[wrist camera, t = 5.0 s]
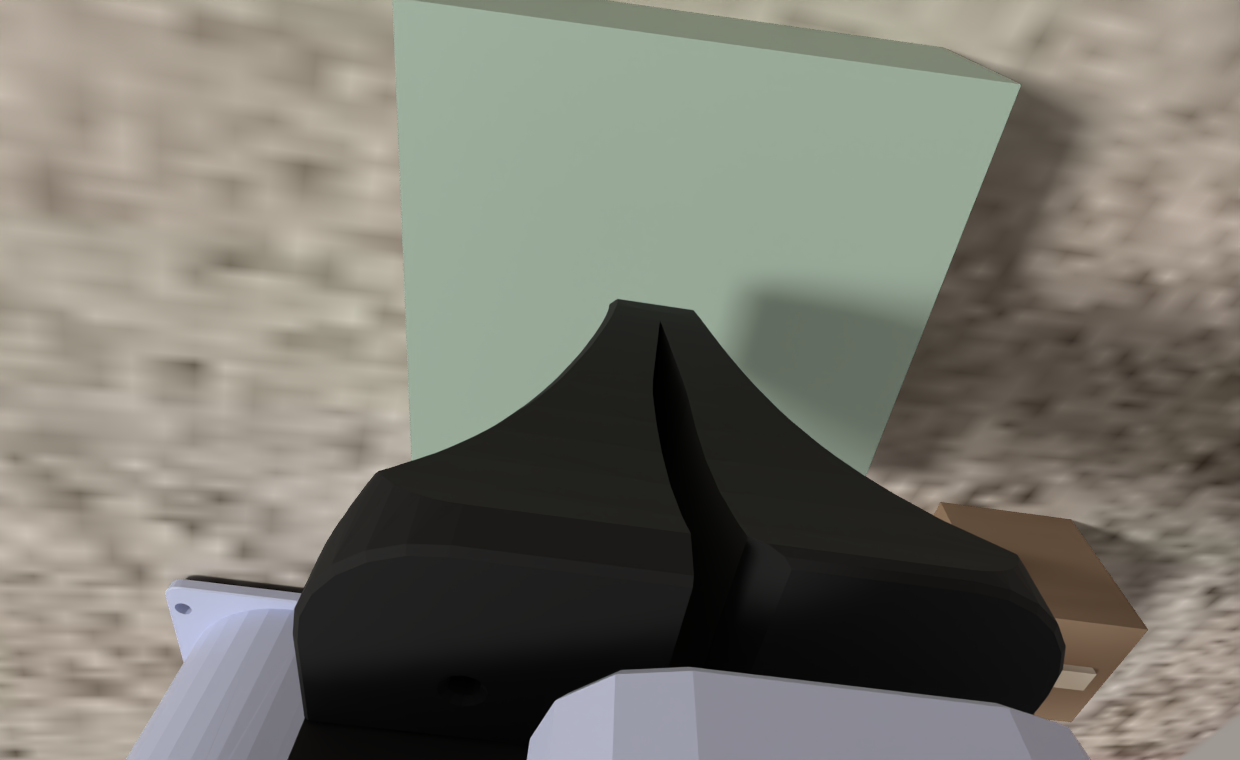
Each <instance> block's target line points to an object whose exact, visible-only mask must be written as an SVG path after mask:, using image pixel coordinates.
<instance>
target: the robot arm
mask: <svg viewBox="0 0 1240 760" xmlns="http://www.w3.org/2000/svg"><path fill="white" fill-rule="evenodd" d="M165 596H166V599H167V603H168V607H169V610H170V614H171V618H172V621H173V625H174V629H175V632H176V636H177V640H178V643H179V647H180V651H181V654H182V658H183V661H184V663H183V665H182V667H181V668H180V670H179V672H178V673H177V675H176V677H175V678H174V680H173V682H172V683H171V685H170V687H169V688H168V690H167V692H166V693H165V695H164V697H163V698H162V700H161V702H160V703H159V705H158V707H157V708H156V710H155V712H154V713H153V715H152V717H151V718H150V720H149V722H148V723H147V725H146V727H145V728H144V730H143V731H142V733H141V735H140V736H139V738H138V740H137V741H136V743H135V745H134V746H133V748H132V750H131V751H130V753H129V755H128V756H127V758H126V760H1091V759H1090V757H1089V756H1088V755H1087V753H1086V752H1085V750H1084V749H1083V747H1082V746H1081V744H1080V743H1079V741H1078V740H1077V739H1076V737H1075V736H1074V734H1073V733H1072V731H1071V730H1070V728H1069V727H1067V726H1064V725H1061V724H1059V723H1056V722H1053V721H1050V720H1047V719H1044V718H1041V717H1038V716H1035V715H1034V713H1035V712H1036V711H1037V710H1038V708H1039V707H1040V706H1041V704H1042V703H1043V702H1044V701H1045V699H1046V698H1047V697H1048V695H1049V693H1050V692H1051V690H1052V688H1053V686H1054V685H1055V683H1056V681H1057V679H1058V678H1059V676H1060V674H1061V672H1062V670H1063V665H1064V657H1065V650H1066V645H1065V642H1064V639H1063V637H1062V634H1061V631H1060V628H1059V625H1058V623H1057V621H1056V619H1055V618H1054V616H1053V614H1052V613H1051V611H1050V609H1049V607H1048V606H1047V604H1046V602H1045V600H1044V599H1043V597H1042V595H1041V593H1040V592H1039V590H1038V588H1037V587H1036V585H1035V583H1034V581H1033V580H1032V578H1031V576H1030V574H1029V573H1028V571H1027V569H1026V568H1025V566H1024V564H1023V563H1022V561H1021V560H1020V558H1019V556H1018V555H1017V554H1015V553H1013V552H1011V551H1009V550H1007V549H1004V548H1002V547H1000V546H998V545H996V544H993V543H991V542H989V541H987V540H985V539H983V538H980V537H978V536H976V535H974V534H972V533H969V532H967V531H965V530H963V529H961V528H958V527H956V526H954V525H952V524H950V523H948V522H945V521H943V520H941V519H939V518H937V517H935V516H933V515H932V514H930V513H928V512H926V511H924V510H922V509H921V508H919V507H917V506H915V505H913V504H912V503H910V502H908V501H906V500H904V499H902V498H901V497H899V496H897V495H895V494H893V493H892V492H890V491H888V490H887V489H885V488H884V487H882V486H880V485H879V484H877V483H875V482H874V481H872V480H870V479H869V478H867V477H866V476H864V475H863V474H861V473H860V472H858V471H857V470H855V469H854V468H852V467H851V466H850V465H848V464H847V463H845V462H844V461H842V460H841V459H839V458H838V457H836V456H835V455H833V454H832V453H831V452H829V451H828V450H827V449H825V448H824V447H823V446H821V445H820V444H819V443H817V442H816V441H815V440H814V439H813V438H811V437H810V436H809V435H808V434H807V433H805V432H804V431H803V430H802V429H801V428H799V427H798V426H797V425H796V424H795V423H793V422H792V421H791V420H790V419H789V418H788V417H787V416H785V415H784V414H783V413H782V412H781V411H780V410H779V409H778V408H777V407H776V406H775V405H774V404H773V403H772V402H771V401H770V400H769V399H768V398H767V397H766V396H765V395H764V394H763V393H762V392H761V391H760V390H759V389H758V388H757V387H756V386H755V385H754V384H753V383H752V381H751V380H750V379H749V378H748V377H747V376H746V375H745V374H744V373H743V371H742V370H741V369H740V368H739V367H738V366H737V364H736V363H735V362H734V361H733V360H732V358H731V357H730V356H729V355H728V354H727V352H726V351H725V350H724V349H723V347H722V346H721V345H720V344H719V342H718V341H717V340H716V338H715V337H714V336H713V335H712V333H711V332H710V331H709V329H708V328H707V327H706V325H705V324H704V323H703V321H702V320H701V319H700V317H699V316H698V315H697V314H696V312H695V311H694V310H690V309H683V308H676V307H669V306H663V305H656V304H649V303H642V302H636V301H629V300H622V299H617V300H615V301H613V302H612V303H610V304H609V309H608V312H607V314H606V316H605V318H604V320H603V322H602V324H601V325H600V327H599V328H598V330H597V331H596V333H595V334H594V336H593V337H592V338H591V340H590V341H589V342H588V344H587V345H586V346H585V347H584V349H583V350H582V351H581V353H580V354H579V355H578V356H577V357H576V358H575V359H574V360H573V361H572V363H571V364H570V365H569V366H568V367H567V368H566V369H565V370H564V371H563V372H562V373H561V374H560V375H559V376H558V377H557V378H556V379H555V380H554V381H553V382H552V383H551V384H550V385H549V386H548V387H547V388H545V389H544V390H543V391H542V392H541V393H540V394H538V395H537V396H536V397H535V398H533V399H532V400H531V401H530V402H528V403H527V404H526V405H524V406H523V407H521V408H520V409H519V410H517V411H516V412H514V413H513V414H511V415H510V416H508V417H507V418H505V419H504V420H502V421H501V422H499V423H498V424H496V425H494V426H493V427H491V428H489V429H487V430H485V431H483V432H481V433H479V434H478V435H476V436H474V437H472V438H469V439H467V440H465V441H463V442H460V443H458V444H456V445H454V446H451V447H449V448H447V449H444V450H442V451H439V452H437V453H434V454H431V455H428V456H425V457H422V458H419V459H416V460H413V461H410V462H407V463H404V464H401V465H398V466H395V467H392V468H388V469H385V470H381V471H378V472H377V473H376V474H375V475H374V476H373V477H372V478H371V480H370V481H369V482H368V483H367V485H366V486H365V487H364V489H363V490H362V491H361V493H360V494H359V495H358V497H357V498H356V499H355V501H354V502H353V503H352V505H351V506H350V508H349V509H348V511H347V512H346V513H345V515H344V516H343V518H342V519H341V520H340V522H339V523H338V525H337V526H336V528H335V529H334V531H333V532H332V534H331V536H330V537H329V539H328V541H327V542H326V544H325V546H324V548H323V550H322V552H321V554H320V556H319V558H318V560H317V562H316V564H315V566H314V568H313V570H312V572H311V574H310V577H309V579H308V581H307V583H306V585H305V587H304V589H303V591H302V593H295V592H287V591H278V590H270V589H262V588H253V587H245V586H236V585H228V584H220V583H211V582H203V581H194V580H186V579H179V580H175V581H173V582H172V583H171V584H170V586H169V587H168V589H167V590H166V593H165Z"/></svg>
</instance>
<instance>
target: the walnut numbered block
mask: <svg viewBox="0 0 1240 760" xmlns="http://www.w3.org/2000/svg"><path fill="white" fill-rule="evenodd" d="M934 516H935V517H937V518H939V519H941V520H943V521H945V522H948V523H950V524H952V525H954V526H956V527H958V528H961V529H963V530H965V531H967V532H969V533H972V534H974V535H976V536H978V537H980V538H983V539H985V540H987V541H989V542H991V543H993V544H996V545H998V546H1000V547H1002V548H1004V549H1007V550H1009V551H1011V552H1013V553H1015V554H1017V555H1018V556H1019V558H1020V560H1021V561H1022V563H1023V564H1024V566H1025V568H1026V569H1027V571H1028V573H1029V574H1030V576H1031V578H1032V580H1033V581H1034V583H1035V585H1036V587H1037V588H1038V590H1039V592H1040V593H1041V595H1042V597H1043V599H1044V600H1045V602H1046V604H1047V606H1048V607H1049V609H1050V611H1051V613H1052V614H1053V616H1054V618H1055V619H1056V621H1057V623H1058V625H1059V628H1060V631H1061V634H1062V637H1063V639H1064V642H1065V645H1066V650H1065V657H1064V665H1063V670H1062V672H1061V674H1060V676H1059V678H1058V679H1057V681H1056V683H1055V685H1054V686H1053V688H1052V690H1051V692H1050V693H1049V695H1048V697H1047V698H1046V699H1045V701H1044V702H1043V703H1042V704H1041V706H1040V707H1039V708H1038V710H1037V711H1036V712H1035V713H1034V715H1035V716H1038V717H1041V718H1044V719H1048V720H1057V721H1065V722H1072V721H1073V719H1074V718H1075V717H1076V716H1077V715H1078V713H1079V712H1080V711H1081V710H1082V709H1083V707H1084V706H1085V705H1086V704H1087V703H1088V701H1089V700H1090V699H1091V698H1092V697H1093V695H1094V694H1095V693H1096V692H1097V691H1098V689H1099V688H1100V687H1101V686H1102V685H1103V683H1104V682H1105V681H1106V680H1107V679H1108V677H1109V676H1110V675H1111V674H1112V673H1113V671H1114V670H1115V669H1116V668H1117V667H1118V665H1119V664H1120V663H1121V662H1122V661H1123V659H1124V658H1125V657H1126V656H1127V655H1128V653H1129V652H1130V651H1131V650H1132V649H1133V647H1134V646H1135V645H1136V644H1137V643H1138V641H1139V640H1140V639H1141V638H1142V637H1143V635H1144V634H1145V633H1146V632H1147V631H1148V629H1147V627H1146V626H1145V624H1144V623H1143V622H1142V620H1141V619H1140V617H1139V616H1138V614H1137V613H1136V612H1135V610H1134V609H1133V607H1132V606H1131V604H1130V603H1129V602H1128V600H1127V599H1126V597H1125V596H1124V594H1123V593H1122V592H1121V590H1120V589H1119V587H1118V586H1117V584H1116V583H1115V582H1114V580H1113V579H1112V577H1111V576H1110V574H1109V573H1108V572H1107V570H1106V569H1105V567H1104V566H1103V564H1102V563H1101V562H1100V560H1099V559H1098V557H1097V556H1096V554H1095V553H1094V552H1093V550H1092V549H1091V547H1090V546H1089V544H1088V543H1087V542H1086V540H1085V539H1084V537H1083V536H1082V534H1081V533H1080V532H1079V530H1078V529H1077V527H1076V526H1075V524H1074V523H1073V522H1072V520H1071V519H1063V518H1056V517H1048V516H1041V515H1033V514H1026V513H1018V512H1011V511H1003V510H996V509H988V508H981V507H973V506H966V505H958V504H951V503H943V502H940V504H939V506H938V508H937V510H936V512H935V514H934Z"/></svg>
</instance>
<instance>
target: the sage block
mask: <svg viewBox="0 0 1240 760" xmlns="http://www.w3.org/2000/svg"><path fill="white" fill-rule="evenodd" d="M393 23H394V47H395V72H396V96H397V120H398V144H399V169H400V193H401V217H402V242H403V266H404V290H405V314H406V339H407V363H408V387H409V411H410V436H411V460H412V461H413V460H416V459H419V458H422V457H425V456H428V455H431V454H434V453H437V452H439V451H442V450H444V449H447V448H449V447H451V446H454V445H456V444H458V443H460V442H463V441H465V440H467V439H469V438H472V437H474V436H476V435H478V434H479V433H481V432H483V431H485V430H487V429H489V428H491V427H493V426H494V425H496V424H498V423H499V422H501V421H502V420H504V419H505V418H507V417H508V416H510V415H511V414H513V413H514V412H516V411H517V410H519V409H520V408H521V407H523V406H524V405H526V404H527V403H528V402H530V401H531V400H532V399H533V398H535V397H536V396H537V395H538V394H540V393H541V392H542V391H543V390H544V389H545V388H547V387H548V386H549V385H550V384H551V383H552V382H553V381H554V380H555V379H556V378H557V377H558V376H559V375H560V374H561V373H562V372H563V371H564V370H565V369H566V368H567V367H568V366H569V365H570V364H571V363H572V361H573V360H574V359H575V358H576V357H577V356H578V355H579V354H580V353H581V351H582V350H583V349H584V347H585V346H586V345H587V344H588V342H589V341H590V340H591V338H592V337H593V336H594V334H595V333H596V331H597V330H598V328H599V327H600V325H601V324H602V322H603V320H604V318H605V316H606V314H607V312H608V309H609V304H610V303H612V302H613V301H615V300H617V299H622V300H629V301H636V302H642V303H649V304H656V305H663V306H669V307H676V308H683V309H690V310H694V311H695V312H696V314H697V315H698V316H699V317H700V319H701V320H702V321H703V323H704V324H705V325H706V327H707V328H708V329H709V331H710V332H711V333H712V335H713V336H714V337H715V338H716V340H717V341H718V342H719V344H720V345H721V346H722V347H723V349H724V350H725V351H726V352H727V354H728V355H729V356H730V357H731V358H732V360H733V361H734V362H735V363H736V364H737V366H738V367H739V368H740V369H741V370H742V371H743V373H744V374H745V375H746V376H747V377H748V378H749V379H750V380H751V381H752V383H753V384H754V385H755V386H756V387H757V388H758V389H759V390H760V391H761V392H762V393H763V394H764V395H765V396H766V397H767V398H768V399H769V400H770V401H771V402H772V403H773V404H774V405H775V406H776V407H777V408H778V409H779V410H780V411H781V412H782V413H783V414H784V415H785V416H787V417H788V418H789V419H790V420H791V421H792V422H793V423H795V424H796V425H797V426H798V427H799V428H801V429H802V430H803V431H804V432H805V433H807V434H808V435H809V436H810V437H811V438H813V439H814V440H815V441H816V442H817V443H819V444H820V445H821V446H823V447H824V448H825V449H827V450H828V451H829V452H831V453H832V454H833V455H835V456H836V457H838V458H839V459H841V460H842V461H844V462H845V463H847V464H848V465H850V466H851V467H852V468H854V469H855V470H857V471H858V472H860V473H861V474H863V475H864V476H866V474H867V472H868V469H869V467H870V464H871V461H872V459H873V456H874V454H875V451H876V449H877V446H878V444H879V441H880V439H881V436H882V434H883V431H884V429H885V426H886V424H887V421H888V419H889V416H890V414H891V411H892V409H893V406H894V404H895V401H896V399H897V396H898V394H899V391H900V388H901V386H902V383H903V381H904V378H905V376H906V373H907V371H908V368H909V366H910V363H911V361H912V358H913V356H914V353H915V351H916V348H917V346H918V343H919V341H920V338H921V336H922V333H923V331H924V328H925V326H926V323H927V321H928V318H929V315H930V313H931V310H932V308H933V305H934V303H935V300H936V298H937V295H938V293H939V290H940V288H941V285H942V283H943V280H944V278H945V275H946V273H947V270H948V268H949V265H950V263H951V260H952V258H953V255H954V253H955V250H956V248H957V245H958V243H959V240H960V237H961V235H962V232H963V230H964V227H965V225H966V222H967V220H968V217H969V215H970V212H971V210H972V207H973V205H974V202H975V200H976V197H977V195H978V192H979V190H980V187H981V185H982V182H983V180H984V177H985V175H986V172H987V170H988V167H989V164H990V162H991V159H992V157H993V154H994V152H995V149H996V147H997V144H998V142H999V139H1000V137H1001V134H1002V132H1003V129H1004V127H1005V124H1006V122H1007V119H1008V117H1009V114H1010V112H1011V109H1012V107H1013V104H1014V102H1015V99H1016V97H1017V94H1018V91H1019V89H1020V86H1021V84H1019V83H1017V82H1015V81H1013V80H1011V79H1009V78H1006V77H1004V76H1002V75H1000V74H998V73H996V72H994V71H992V70H989V69H987V68H985V67H983V66H981V65H979V64H977V63H975V62H973V61H970V60H968V59H966V58H964V57H962V56H960V55H958V54H956V53H953V52H951V51H949V50H947V49H945V48H943V47H936V46H929V45H922V44H914V43H907V42H900V41H893V40H886V39H879V38H871V37H864V36H857V35H850V34H843V33H836V32H829V31H821V30H814V29H807V28H800V27H793V26H786V25H778V24H771V23H764V22H757V21H750V20H743V19H736V18H728V17H721V16H714V15H707V14H700V13H693V12H685V11H678V10H671V9H664V8H657V7H650V6H642V5H635V4H628V3H621V2H614V1H607V0H393Z"/></svg>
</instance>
